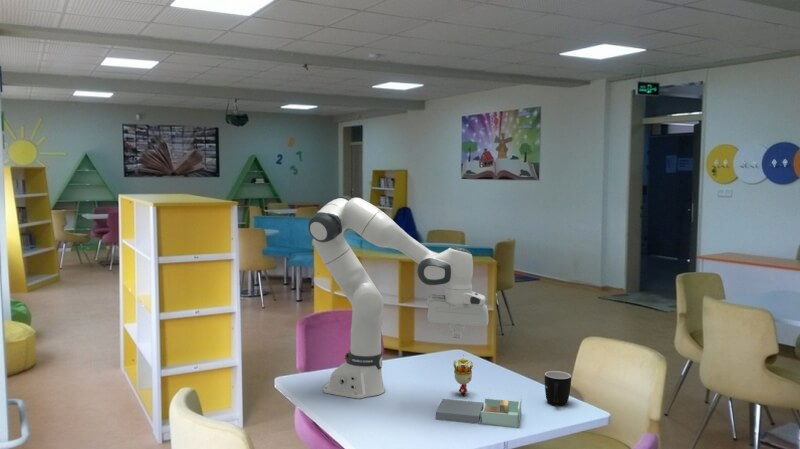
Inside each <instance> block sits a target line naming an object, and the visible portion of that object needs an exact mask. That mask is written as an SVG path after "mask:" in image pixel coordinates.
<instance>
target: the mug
mask: <svg viewBox="0 0 800 449" xmlns="http://www.w3.org/2000/svg"><path fill="white" fill-rule="evenodd" d="M571 386H572V375H571V374H570V373H568V372H565V371H559V370H558V371H557V370H550V371H546V372H545V373H544V393H545V398H546V403H547V404H549V405H552V406H554V407H564V406H566V405H567V404H568V402H569V399H570V394H571V393H570V391H571Z"/></svg>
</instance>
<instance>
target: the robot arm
mask: <svg viewBox="0 0 800 449" xmlns="http://www.w3.org/2000/svg"><path fill="white" fill-rule="evenodd" d="M307 228H308V233H309V234H310V236H311V237H312V238H313V240H312V242H313V244H314V247H315V249H316V251H317V254H318V255H319V257H320V259H321V261H322V263H323V264H324V265H325V268H326V269H327V270H328V272H329V273H330V275H331V277H332V278H333V280H334V281H335V282H336V284H337V285H338V287H339V288H340V289H341V291H342V292H343V293H344V295H345V297H346V298H347V300H348V301H349V303H350V305H351V308H352V309H351V310H352V312H351V327H350V328H351V329H350V349H349V350H348V351H347V352H346V353H345V355H344V358H343V359H344V360H345V361H344V362H343V363H341V365H339V366H337V367H336V368H335V369H334V370H333V371H332V372H331V374H330V377H329V381H328V382H327V383H326V384H325V385H324V386H323V388H322V391H323V393H324V394H329V395H336V396H342V397H347V398H352V399H358V400H359V399H364V398H368V397H374V396H379V395H382V394H384V392H385V391H386V389H385V386H384V380H383V372H382V368H383V352H382V327H383V326H382V325H383V319H384V317H383V316H384V305H385V304H384V303H385V302H384V297H383V295H382V294H381V292H380V291H379V290H378V288H377V287H376V285H375V284H374V282H373V280H372V278H371V276H369V274H368V272H367V271H366V269H365V268H364V267H363V265H362V263H361V261H360V260H359V258H358V257H357V255H356V254H355V252H354V251H353V249H352V248H351V246H350V245H349V244H348V242H347V240H346V238H345V235H344V233H345V231H346V230H347V229H349V230H352V231H354V232H356V234H358V235H359V236H360V237H361V238H363V239H364V240H365V241H367V242H368V243H370V244H372V245H374V246H377V247H378V248H387V249H393V250H397V251H399V252H401V253H403V254H404V255H405V256H407V257H408V258H410V259H411V260H413V261H414V262H415V263H417V264H418V266H417V270H416V271H417V272H416V273H417V277H418V279H419V280H420V281H421V283H423V284H424V285H428V286H437V285H445V290H444V294H431V295H430V296H428V297H427V299H426V300H427V303H426V304H427V307H428V310H427V317H426V320H427V321H428V322H429V323H432V324H434V323H435V324H442V325H443V324H444V325H449V326H448V328H449V329H450V332H451V333H452V336H451V337H452V338H455V339H462V337H463V332H464V330H465V329H466V326H470V327H471V326H472V327H479V328H481V327H482V328H486V327H487V326H488V324H489V320H490V319H489V309H488V306H487V304H486V299H487V298H486V295H484V294H481V293H478V292H477V291H476V292H475V291H473V284H472V279H473V275H474V261H473V259H474V258H473V255H472V253H471V251H470V250H468V249H466V248H464V247H459V246H450V247H449V248H447V249H445V250H443V251H441V252H440V251H435V250H432V249H430V248H428V247H427V246H425V245H424V244H422V243H421V242H419V241H418V240H417V239H415V238H414V237H412V236H411V235H410V234H408V233H407V232H406V231H405V230H404V229H403V228H402V227H400V226H399V225H398V224H397V223H396V222H395V221H394V220H393V219H392V218H391V217H389V215H387V214H386V213H385V212H383V211H382V210H381V209H380V208H379V207H377V206H375V205H374V204H372V203H370V202H369V201H366V200H365V199H363V198H360V197H351V196H349V195H340V196H338V197H335V198H334V199H333V200H331V201H329V202H328V203H327V202H326V204H324V205H323V206H322V208H320V209H319V210H318V211H317V212H316V213H314V214H313V215H312V216H311V218H310V219H309V221H308V224H307ZM456 325H457V326H458V325H459V326H460V327H459V328H460V331H456V330H455V328H454V327H455V326H456Z"/></svg>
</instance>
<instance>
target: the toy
mask: <svg viewBox="0 0 800 449" xmlns="http://www.w3.org/2000/svg"><path fill="white" fill-rule="evenodd" d="M462 356H463V357H462V358H460V359H455V360H454V361H453V368H454V371H453V373H454V379H455V381H456V382H457V384H459V385H460V387H459V389H458V392H459V393H460V397H465V396H466V394H467V393H468V389H467V385H468V384H469V383H470V382H471V381H472V378H473V374H472V373H473V372H472V369H473V366H474V364H473V361H472V360H470V359H469V360H468V359H467V358H465V357H464V356H465V354H464V353H463V354H462ZM469 365H470V366H469Z"/></svg>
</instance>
